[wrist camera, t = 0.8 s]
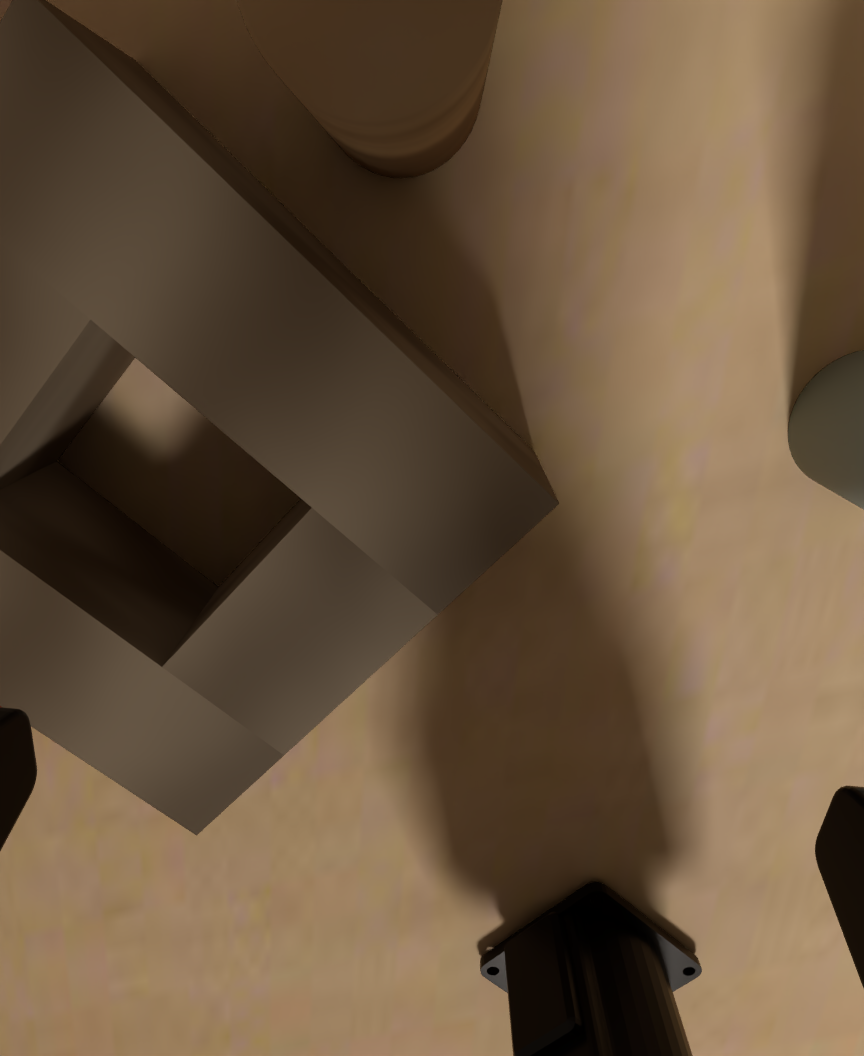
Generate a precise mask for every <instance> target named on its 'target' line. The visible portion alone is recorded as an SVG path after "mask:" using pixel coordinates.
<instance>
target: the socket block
mask: <svg viewBox="0 0 864 1056" xmlns="http://www.w3.org/2000/svg"><path fill="white" fill-rule="evenodd" d="M134 358H137V359H138V360H139V361H140V362H141V363H142V364H144V365H145V366H146V367H147V368H148V369H149V370H151V371H152V372H153V373H154V374H155V375H156V376H158V377H159V378H160V379H161V380H162V381H164V382H165V383H166V384H167V385H168V386H169V387H171V388H172V389H173V390H174V391H175V392H176V393H178V394H179V395H180V396H181V397H182V398H184V399H185V400H186V401H187V402H188V403H189V404H191V405H192V406H193V407H194V408H195V409H196V410H198V411H199V412H200V413H201V414H202V415H204V416H205V417H206V418H207V419H208V420H209V421H211V422H212V423H213V424H214V425H215V426H216V427H218V428H219V429H220V430H221V431H222V432H224V433H225V434H226V435H227V436H228V437H229V438H231V439H232V440H233V441H234V442H235V443H236V444H238V445H239V446H240V447H241V448H242V449H243V450H245V451H246V452H247V453H248V454H249V455H251V456H252V457H253V458H254V459H255V460H256V461H258V462H259V463H260V464H261V465H262V466H263V467H265V468H266V469H267V470H268V471H269V472H271V473H272V474H273V475H274V476H275V477H276V478H278V479H279V480H280V481H281V482H282V483H283V484H285V485H286V486H287V487H288V488H289V489H291V490H292V491H293V492H294V493H295V494H296V495H298V496H299V497H300V498H301V499H300V500H299V501H298V503H297V504H296V505H295V506H294V507H293V508H292V509H291V510H290V511H289V512H288V513H287V514H286V515H285V517H284V518H283V519H282V520H281V521H280V522H279V523H278V524H277V525H276V526H275V527H274V528H273V529H272V530H271V532H270V533H269V534H268V535H267V536H266V537H265V538H264V539H263V540H262V541H261V542H260V543H259V544H258V546H257V547H256V548H255V549H254V550H253V551H252V552H251V553H250V554H249V555H248V556H247V557H246V558H245V560H244V561H243V562H242V563H241V564H240V565H239V566H238V567H237V568H236V569H235V570H234V571H233V572H232V574H231V575H230V576H229V577H228V578H227V579H226V580H225V581H224V582H223V583H222V584H221V585H220V586H219V587H217V586H216V585H215V584H213V583H212V582H211V581H209V580H208V579H207V578H206V577H204V576H203V575H202V574H200V573H199V572H198V571H197V570H195V569H194V568H193V567H191V566H190V565H189V564H188V563H186V562H185V561H184V560H182V559H181V558H180V557H179V556H177V555H176V554H175V553H173V552H172V551H171V550H170V549H168V548H167V547H166V546H164V545H163V544H162V543H161V542H159V541H158V540H157V539H155V538H154V537H153V536H152V535H150V534H149V533H148V532H146V531H145V530H144V529H143V528H141V527H140V526H139V525H137V524H136V523H135V522H134V521H132V520H131V519H130V518H128V517H127V516H126V515H125V514H123V513H122V512H121V511H119V510H118V509H117V508H116V507H114V506H113V505H112V504H110V503H109V502H108V501H107V500H105V499H104V498H103V497H101V496H100V495H99V494H98V493H96V492H95V491H94V490H92V489H91V488H90V487H89V486H87V485H86V484H85V483H83V482H82V481H81V480H80V479H78V478H77V477H76V476H74V475H73V474H72V473H71V472H69V471H68V470H67V469H65V468H64V467H63V466H62V465H60V464H59V463H58V462H56V461H57V460H58V458H59V457H60V456H61V454H62V453H63V452H64V450H65V449H66V448H67V447H68V445H69V444H70V443H71V441H72V440H73V439H74V437H75V436H76V435H77V433H78V432H79V431H80V429H81V428H82V427H83V426H84V424H85V423H86V422H87V420H88V419H89V418H90V416H91V415H92V414H93V412H94V411H95V410H96V408H97V407H98V406H99V404H100V403H101V402H102V401H103V399H104V398H105V397H106V395H107V394H108V393H109V391H110V390H111V389H112V387H113V386H114V385H115V383H116V382H117V381H118V380H119V378H120V377H121V376H122V374H123V373H124V372H125V370H126V369H127V368H128V366H129V365H130V364H131V362H132V361H133V360H134ZM558 504H559V502H558V500H557V498H556V496H555V494H554V492H553V489H552V487H551V485H550V483H549V481H548V479H547V477H546V475H545V473H544V471H543V469H542V467H541V465H540V462H539V460H538V458H537V456H536V454H535V452H534V451H533V450H532V449H531V448H530V447H529V446H528V445H527V444H526V443H525V442H524V441H523V440H522V439H521V438H520V437H519V436H518V435H517V434H516V433H515V432H514V431H513V430H512V429H510V428H509V427H508V426H507V425H506V424H505V423H504V422H503V421H502V420H501V419H500V418H499V417H498V416H497V415H496V414H495V413H494V412H493V411H492V410H491V409H490V408H489V407H488V406H487V405H486V404H485V403H484V402H483V401H482V400H481V399H480V398H479V397H478V396H477V395H476V394H475V393H474V392H473V391H472V390H471V389H470V388H469V387H468V386H467V385H466V384H465V383H464V382H463V381H462V380H460V379H459V378H458V377H457V376H456V375H455V374H454V373H453V372H452V371H451V370H450V369H449V368H448V367H447V366H446V365H445V364H444V363H443V362H442V361H441V360H440V359H439V358H438V357H437V356H436V355H435V354H434V353H433V352H432V351H431V350H430V349H429V348H428V347H427V346H426V345H425V344H424V343H423V342H422V341H421V340H420V339H419V338H418V337H417V336H416V335H415V334H414V333H413V332H412V331H410V330H409V329H408V328H407V327H406V326H405V325H404V324H403V323H402V322H401V321H400V320H399V319H398V318H397V317H396V316H395V315H394V314H393V313H392V312H391V311H390V310H389V309H388V308H387V307H386V306H385V305H384V304H383V303H382V302H381V301H380V300H379V299H378V298H377V297H376V296H375V295H374V294H373V293H372V292H371V291H370V290H369V289H368V288H367V287H366V286H365V285H364V284H363V283H362V282H361V281H359V280H358V279H357V278H356V277H355V276H354V275H353V274H352V273H351V272H350V271H349V270H348V269H347V268H346V267H345V266H344V265H343V264H342V263H341V262H340V261H339V260H338V259H337V258H336V257H335V256H334V255H333V254H332V253H331V252H330V251H329V250H328V249H327V248H326V247H325V246H324V245H323V244H322V243H321V242H320V241H319V240H318V239H317V238H316V237H315V236H314V235H313V234H312V233H311V232H309V231H308V230H307V229H306V228H305V227H304V226H303V225H302V224H301V223H300V222H299V221H298V220H297V219H296V218H295V217H294V216H293V215H292V214H291V213H290V212H289V211H288V210H287V209H286V208H285V207H284V206H283V205H282V204H281V203H280V202H279V201H278V200H277V199H276V198H275V197H274V196H273V195H272V194H271V193H270V192H269V191H268V190H267V189H266V188H265V187H264V186H263V185H262V184H261V183H260V182H258V181H257V180H256V179H255V178H254V177H253V176H252V175H251V174H250V173H249V172H248V171H247V170H246V169H245V168H244V167H243V166H242V165H241V164H240V163H239V162H238V161H237V160H236V159H235V158H234V157H233V156H232V155H231V154H230V153H229V152H228V151H227V150H226V149H225V148H224V147H223V146H222V145H221V144H220V143H219V142H218V141H217V140H216V139H215V138H214V137H213V136H212V135H211V134H210V133H208V132H207V131H206V130H205V129H204V128H203V127H202V126H201V125H200V124H199V123H198V122H197V121H196V120H195V119H194V118H193V117H192V116H191V115H190V114H189V113H188V112H187V111H186V110H185V109H184V108H183V107H182V106H181V105H180V104H179V103H178V102H177V101H176V100H175V99H174V98H173V97H172V96H171V95H170V94H169V93H168V92H167V91H166V90H165V89H164V88H163V87H162V86H161V85H160V84H159V83H157V82H156V81H155V80H154V79H153V78H152V77H151V76H150V75H149V74H148V73H147V72H146V71H145V70H144V69H143V68H142V67H141V66H140V65H139V64H138V63H137V62H136V61H135V60H134V59H133V58H131V57H130V56H128V55H127V54H125V53H124V52H122V51H121V50H119V49H118V48H116V47H115V46H113V45H112V44H110V43H109V42H107V41H106V40H104V39H103V38H101V37H100V36H98V35H97V34H95V33H94V32H92V31H91V30H89V29H88V28H86V27H85V26H83V25H82V24H80V23H79V22H77V21H76V20H74V19H73V18H71V17H70V16H68V15H67V14H65V13H64V12H62V11H61V10H59V9H58V8H56V7H55V6H53V5H52V4H50V3H49V2H47V1H46V0H13V1H12V2H11V4H10V6H9V8H8V9H7V11H6V13H5V15H4V16H3V18H2V20H1V22H0V706H1V707H3V708H14V709H20V710H22V711H24V712H25V713H26V714H27V715H28V717H29V720H30V725H31V727H33V728H35V729H36V730H38V731H39V732H41V733H42V734H44V735H45V736H47V737H48V738H50V739H51V740H53V741H54V742H56V743H57V744H59V745H60V746H62V747H63V748H65V749H66V750H68V751H69V752H71V753H72V754H74V755H75V756H77V757H78V758H80V759H82V760H83V761H85V762H86V763H88V764H89V765H91V766H92V767H94V768H95V769H97V770H98V771H100V772H101V773H103V774H104V775H106V776H107V777H109V778H110V779H112V780H113V781H115V782H116V783H118V784H119V785H121V786H122V787H124V788H125V789H127V790H129V791H130V792H132V793H133V794H135V795H136V796H138V797H139V798H141V799H142V800H144V801H145V802H147V803H148V804H150V805H151V806H153V807H154V808H156V809H157V810H159V811H160V812H162V813H163V814H165V815H166V816H168V817H169V818H171V819H172V820H174V821H176V822H177V823H179V824H180V825H182V826H183V827H185V828H186V829H188V830H189V831H191V832H192V833H194V834H195V835H198V834H199V833H200V832H201V831H202V830H203V829H204V828H205V827H206V826H207V825H208V824H210V823H211V822H212V821H213V820H214V819H215V818H216V817H217V816H218V815H219V814H220V813H222V812H223V811H224V810H225V809H226V808H227V807H228V806H229V805H230V804H231V803H232V802H234V801H235V800H236V799H237V798H238V797H239V796H240V795H241V794H242V793H243V792H244V791H246V790H247V789H248V788H249V787H250V786H251V785H252V784H253V783H254V782H255V781H257V780H258V779H259V778H260V777H261V776H262V775H263V774H264V773H265V772H266V771H267V770H269V769H270V768H271V767H272V766H273V765H274V764H275V763H276V762H277V761H278V760H279V759H281V758H282V757H283V756H284V755H285V754H286V753H287V752H288V751H289V750H290V749H291V748H293V747H294V746H295V745H296V744H297V743H298V742H299V741H300V740H301V739H302V738H304V737H305V736H306V735H307V734H308V733H309V732H310V731H311V730H312V729H313V728H314V727H316V726H317V725H318V724H319V723H320V722H321V721H322V720H323V719H324V718H325V717H326V716H328V715H329V714H330V713H331V712H332V711H333V710H334V709H335V708H336V707H337V706H338V705H340V704H341V703H342V702H343V701H344V700H345V699H346V698H347V697H348V696H349V695H351V694H352V693H353V692H354V691H355V690H356V689H357V688H358V687H359V686H360V685H361V684H363V683H364V682H365V681H366V680H367V679H368V678H369V677H370V676H371V675H372V674H373V673H375V672H376V671H377V670H378V669H379V668H380V667H381V666H382V665H383V664H384V663H385V662H387V661H388V660H389V659H390V658H391V657H392V656H393V655H394V654H395V653H396V652H398V651H399V650H400V649H401V648H402V647H403V646H404V645H405V644H406V643H407V642H408V641H410V640H411V639H412V638H413V637H414V636H415V635H416V634H417V633H418V632H419V631H420V630H422V629H423V628H424V627H425V626H426V625H427V624H428V623H429V622H430V621H431V620H432V619H434V618H435V617H436V616H437V615H438V614H439V613H440V612H441V611H442V610H443V609H445V608H446V607H447V606H448V605H449V604H450V603H451V602H452V601H453V600H454V599H455V598H457V597H458V596H459V595H460V594H461V593H462V592H463V591H464V590H465V589H466V588H467V587H469V586H470V585H471V584H472V583H473V582H474V581H475V580H476V579H477V578H478V577H479V576H481V575H482V574H483V573H484V572H485V571H486V570H487V569H488V568H489V567H490V566H492V565H493V564H494V563H495V562H496V561H497V560H498V559H499V558H500V557H501V556H502V555H504V554H505V553H506V552H507V551H508V550H509V549H510V548H511V547H512V546H513V545H514V544H516V543H517V542H518V541H519V540H520V539H521V538H522V537H523V536H524V535H525V534H526V533H528V532H529V531H530V530H531V529H532V528H533V527H534V526H535V525H536V524H537V523H539V522H540V521H541V520H542V519H543V518H544V517H545V516H546V515H547V514H548V513H549V512H551V511H552V510H553V509H554V508H555V507H556V506H557V505H558Z"/></svg>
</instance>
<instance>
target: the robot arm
mask: <svg viewBox="0 0 864 1056" xmlns="http://www.w3.org/2000/svg"><path fill="white" fill-rule="evenodd" d="M36 776H37V765H36V758H35V752H34V745H33V738H32V731H31V725H30V720H29V717H28V715H27V714H26V713H25V712H24V711H22V710H20V709H14V708H3V707H0V851H1V849H2V847H3V845H4V843H5V842H6V840H7V838H8V836H9V834H10V832H11V830H12V828H13V827H14V825H15V823H16V821H17V819H18V817H19V815H20V814H21V812H22V810H23V808H24V806H25V804H26V802H27V800H28V799H29V797H30V795H31V793H32V790H33V788H34V785H35V781H36ZM815 855H816V860H817V864H818V868H819V870H820V873H821V876H822V878H823V881H824V884H825V886H826V889H827V892H828V894H829V897H830V900H831V902H832V905H833V908H834V910H835V913H836V916H837V918H838V921H839V924H840V926H841V929H842V932H843V934H844V937H845V940H846V942H847V945H848V948H849V950H850V953H851V956H852V958H853V961H854V964H855V967H856V969H857V972H858V975H859V977H860V980H861V983H862V985H863V988H864V787H857V786H844V787H841V788H840V789H838V790H837V791H836V792H835V794H834V796H833V798H832V801H831V803H830V806H829V808H828V811H827V813H826V816H825V818H824V821H823V824H822V826H821V829H820V831H819V834H818V836H817V839H816V845H815ZM480 971H481V974H482V975H483V976H484V977H485V978H486V979H488V980H489V981H491V982H492V983H494V984H495V985H497V986H498V987H500V988H501V989H502V990H504V991H505V992H507V993H508V1000H509V1012H510V1023H511V1035H512V1047H513V1056H692V1053H691V1049H690V1046H689V1043H688V1040H687V1037H686V1033H685V1030H684V1027H683V1024H682V1021H681V1017H680V1014H679V1011H678V1008H677V1005H676V1001H675V998H674V995H673V991H675V990H677V989H678V988H680V987H682V986H683V985H685V984H687V983H689V982H690V981H692V980H694V979H695V978H697V977H698V976H699V975H700V974H701V972H702V969H701V966H700V963H699V960H698V958H697V957H696V955H694V954H693V953H692V952H690V951H689V950H688V949H687V948H685V947H684V946H683V945H681V944H680V943H679V942H678V941H676V940H675V939H674V938H673V937H671V936H670V935H669V934H667V933H666V932H665V931H664V930H662V929H661V928H660V927H658V926H657V925H656V924H655V923H653V922H652V921H651V920H649V919H648V918H647V917H646V916H644V915H643V914H642V913H640V912H639V911H638V910H637V909H635V908H634V907H633V906H631V905H630V904H629V903H628V902H626V901H625V900H624V899H623V898H621V897H620V896H619V895H617V894H616V893H615V892H614V891H612V890H611V889H610V888H608V887H607V886H606V885H604V884H602V883H600V882H592V883H589V884H587V885H585V886H584V887H582V888H581V889H579V890H578V891H576V892H575V893H573V894H572V895H570V896H569V897H568V898H566V899H565V900H563V901H562V902H560V903H559V904H557V905H556V906H554V907H553V908H552V909H550V910H549V911H547V912H546V913H544V914H543V915H541V916H540V917H539V918H537V919H536V920H534V921H533V922H531V923H530V924H528V925H527V926H525V927H524V928H523V929H521V930H520V931H518V932H517V933H515V934H514V935H512V936H511V937H509V938H508V939H507V940H505V941H504V942H502V943H501V944H499V945H498V946H496V947H495V948H493V949H492V950H491V951H489V952H488V953H486V954H485V955H483V956H482V957H481V960H480Z"/></svg>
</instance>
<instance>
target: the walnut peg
mask: <svg viewBox="0 0 864 1056" xmlns="http://www.w3.org/2000/svg"><path fill="white" fill-rule="evenodd" d="M237 3H238V6H239V9H240V12H241V15H242V17H243V20H244V22H245V25H246V27H247V30H248V31H249V33H250V35H251V37H252V39H253V41H254V43H255V45H256V47H257V48H258V50H259V51H260V53H261V54H262V56H263V57H264V59H265V60H266V62H267V63H268V65H269V66H270V67H271V68H272V69H273V71H274V72H275V73H276V74H277V75H278V76H279V78H280V79H281V80H282V81H283V82H284V83H285V84H286V86H287V87H288V88H289V89H290V90H291V91H292V92H293V94H294V95H295V96H296V97H297V98H298V99H299V100H300V102H301V103H302V104H303V105H304V106H305V107H306V109H307V110H308V111H309V112H310V113H311V114H312V115H313V117H314V118H315V119H316V120H317V121H318V122H319V123H320V125H321V126H322V127H323V128H324V129H325V130H326V131H327V133H328V134H329V135H330V136H331V137H332V138H333V139H334V141H335V142H336V143H337V144H338V145H339V146H340V147H341V149H342V150H343V151H344V152H345V153H346V154H347V155H348V156H349V157H350V158H351V159H352V160H353V161H355V162H356V163H358V164H359V165H360V166H362V167H364V168H365V169H367V170H369V171H371V172H374V173H376V174H379V175H382V176H387V177H393V178H408V177H415V176H419V175H423V174H425V173H428V172H430V171H433V170H434V169H436V168H438V167H439V166H441V165H443V164H444V163H445V162H446V161H448V160H449V159H450V158H451V157H452V156H453V155H454V154H455V153H456V152H457V151H458V150H459V149H460V148H461V146H462V145H463V143H464V142H465V141H466V139H467V137H468V136H469V134H470V132H471V130H472V128H473V126H474V123H475V121H476V118H477V115H478V111H479V108H480V103H481V99H482V94H483V89H484V84H485V80H486V75H487V70H488V66H489V61H490V56H491V51H492V47H493V42H494V37H495V33H496V28H497V23H498V18H499V14H500V9H501V4H502V0H237Z"/></svg>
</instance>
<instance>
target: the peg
mask: <svg viewBox="0 0 864 1056" xmlns="http://www.w3.org/2000/svg"><path fill="white" fill-rule="evenodd" d="M788 442H789V447H790V451H791V454H792V457H793V459H794V461H795V463H796V464H797V466H798V467H799V468H800V470H801V471H802V472H803V473H804V474H805V475H806V476H808V477H809V478H811V479H812V480H814V481H815V482H817V483H819V484H821V485H822V486H824V487H826V488H827V489H829V490H831V491H833V492H834V493H836V494H838V495H839V496H841V497H843V498H845V499H846V500H848V501H850V502H852V503H853V504H855V505H857V506H858V507H860V508H862V509H864V350H862V351H857V352H854V353H851V354H848V355H846V356H843V357H841V358H839V359H837V360H835V361H834V362H832V363H831V364H829V365H827V366H826V367H825V368H824V369H822V370H821V371H820V372H819V373H818V374H816V375H815V376H814V377H813V378H812V379H811V381H810V382H809V383H808V384H807V385H806V386H805V388H804V389H803V391H802V392H801V394H800V395H799V397H798V399H797V401H796V403H795V405H794V408H793V410H792V413H791V417H790V421H789V428H788Z"/></svg>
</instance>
